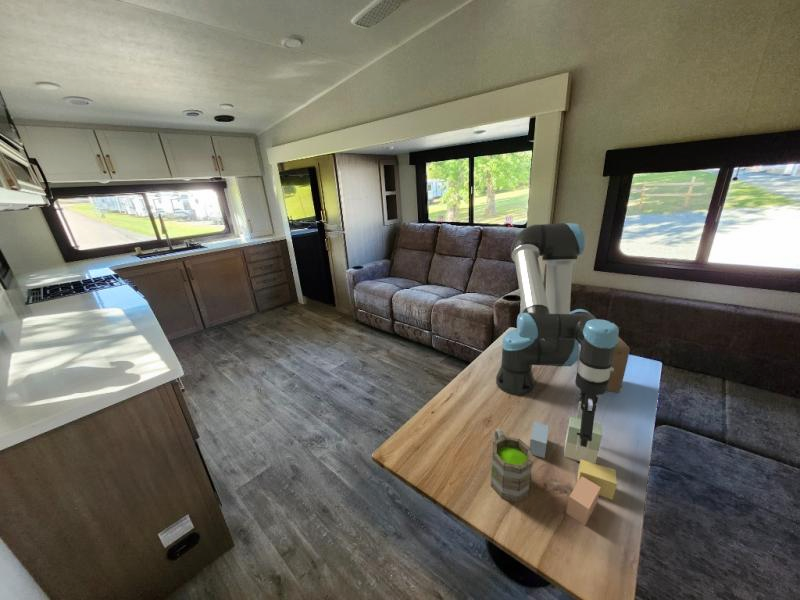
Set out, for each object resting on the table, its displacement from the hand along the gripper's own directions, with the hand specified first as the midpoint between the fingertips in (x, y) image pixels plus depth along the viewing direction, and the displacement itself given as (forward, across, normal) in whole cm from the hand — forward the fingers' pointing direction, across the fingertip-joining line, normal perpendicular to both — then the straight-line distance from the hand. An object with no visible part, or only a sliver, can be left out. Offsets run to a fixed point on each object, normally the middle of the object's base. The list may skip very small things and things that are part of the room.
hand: (581, 435), depth 91 cm
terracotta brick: (+7, -18, -1) cm, 20 cm away
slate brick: (+7, -2, +11) cm, 13 cm away
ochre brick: (+7, -10, -4) cm, 13 cm away
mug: (+8, -17, +18) cm, 26 cm away
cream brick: (+7, 0, 0) cm, 8 cm away
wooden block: (+8, +41, -8) cm, 42 cm away
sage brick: (+1, -1, 0) cm, 2 cm away
